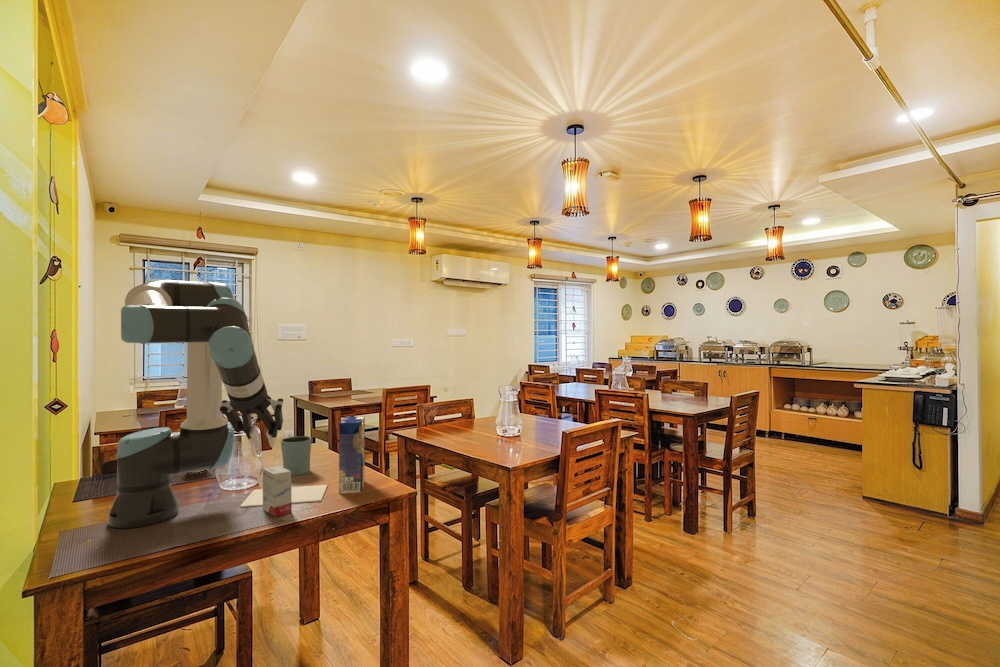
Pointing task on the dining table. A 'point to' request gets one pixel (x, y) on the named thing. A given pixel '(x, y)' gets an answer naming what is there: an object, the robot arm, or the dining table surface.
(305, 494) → the mat
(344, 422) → the beverage box
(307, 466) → the green tapered cup
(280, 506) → the ink box
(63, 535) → the dining table surface
